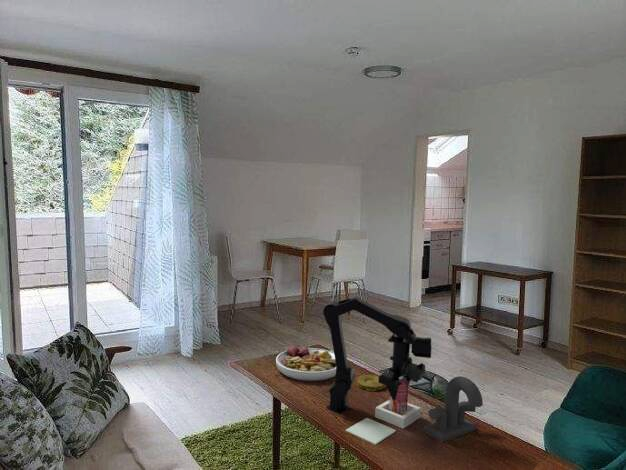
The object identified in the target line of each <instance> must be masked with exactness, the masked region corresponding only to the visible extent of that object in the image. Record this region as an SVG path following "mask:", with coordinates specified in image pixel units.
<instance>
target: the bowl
mask: <svg viewBox="0 0 626 470" xmlns="http://www.w3.org/2000/svg"><path fill="white" fill-rule="evenodd" d="M275 363H276V368H277V369H278V370H279V372H280V373H282V375H285V376H286V377H288V378H291V379H294V380H299V381H304V382H305V381H307V382H309V381H310V382H312V381H313V382H317V381H324V380H328V379H331V378H335V375H336V361H335V355H334V351H332V350H327V349H324V348H314V347H313V348H312V347H306V346H305V345H303V346H300V347H298V346H297V345H290V346H288V348H287V350H285V351H282V352H280V353H279V354H278V355H277V356H276V358H275Z"/></svg>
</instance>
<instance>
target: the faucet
mask: <svg viewBox="0 0 626 470" xmlns="http://www.w3.org/2000/svg"><path fill="white" fill-rule="evenodd" d="M460 391H462V392H463V393H464V394H465V395H466V397H467V400H464V401H460ZM483 404H484V401H483V397H482V393H481V391H480V389H479V387H478V386H477V385H476V383H474V381H472V379H470V378H468V377H465V376H455V377H453V378H451V379H449V381H448V382H447V384H446V388H445V397H444V408H443V407H434V408H429V410H428V416H429V418H430V420H432V421H434V420H436V422H434V423H431V424H429V425H425V426H423V427H422V431H423V432H424V433H426V434H428V435H429V436H431V437H432V438H434V439H435V440H437V441H439V442H441V443H444V442H447V441H449V440H453V439H455V438H457V437H460V436H463V435H465V434H468V433H470V432H474V431H477V430H478V425H477V424H475V423H473V422H472V421H470V420H468V419H466V418H465V415H466V412H471V413H475V412H476V408H481V407H482V406H483Z"/></svg>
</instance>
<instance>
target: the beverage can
mask: <svg viewBox="0 0 626 470" xmlns="http://www.w3.org/2000/svg"><path fill="white" fill-rule="evenodd" d="M399 383H400V384H401V385H400V386H399V387H398V389H397V396H396V399H395V401H394V400H392V397H391V395H390V394H389V400H390V403H389V409H390V410H391V412H394V413H396V414H399V415H404V414H405V412H406V411H407V403H409V402H408V398H409V396H408V395H409V386H408V381H407V378H405V377H403V376H402V377H400V378H399Z"/></svg>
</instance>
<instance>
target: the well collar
mask: <svg viewBox="0 0 626 470" xmlns="http://www.w3.org/2000/svg"><path fill="white" fill-rule="evenodd" d="M389 403H390V399H388V400H386V401H385V402H383V403H381V404H379V405H377V406H376V407H375V410H374V417H375V418H377V419H379V420H380V421H381V420H382V421H384V422H386V423H387V424H388V423H389V424H391V425H393V426H396V427H399V428H400V429H405V428H406V427H408V426H410V425H411V424H413V423H414V422H415V421H417V420H419V419H420V418H421V410H422V407H419V406H417V405H415V404H413V403H412V404H411V403H409V402H407V411H406V412H405V413H403V414H396V413H394V412H392V411H391V410H390V409H389Z"/></svg>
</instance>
